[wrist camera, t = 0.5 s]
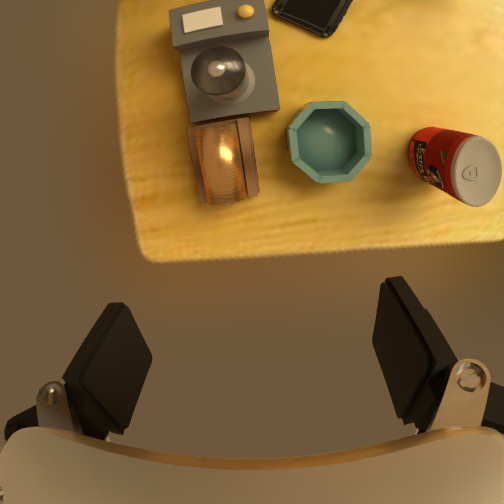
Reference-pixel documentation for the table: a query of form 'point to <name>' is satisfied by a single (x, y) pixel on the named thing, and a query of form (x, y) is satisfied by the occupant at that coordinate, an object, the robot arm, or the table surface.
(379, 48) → the table surface
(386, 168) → the table surface
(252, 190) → the walnut trough
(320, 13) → the phone
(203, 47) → the checker
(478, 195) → the canned food
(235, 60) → the grey cell
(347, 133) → the teal cup
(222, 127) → the copper cell
